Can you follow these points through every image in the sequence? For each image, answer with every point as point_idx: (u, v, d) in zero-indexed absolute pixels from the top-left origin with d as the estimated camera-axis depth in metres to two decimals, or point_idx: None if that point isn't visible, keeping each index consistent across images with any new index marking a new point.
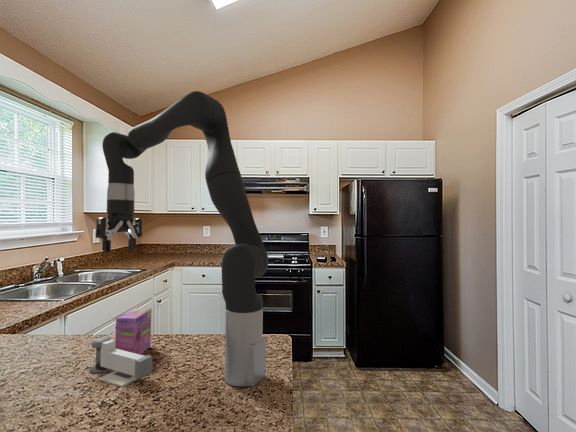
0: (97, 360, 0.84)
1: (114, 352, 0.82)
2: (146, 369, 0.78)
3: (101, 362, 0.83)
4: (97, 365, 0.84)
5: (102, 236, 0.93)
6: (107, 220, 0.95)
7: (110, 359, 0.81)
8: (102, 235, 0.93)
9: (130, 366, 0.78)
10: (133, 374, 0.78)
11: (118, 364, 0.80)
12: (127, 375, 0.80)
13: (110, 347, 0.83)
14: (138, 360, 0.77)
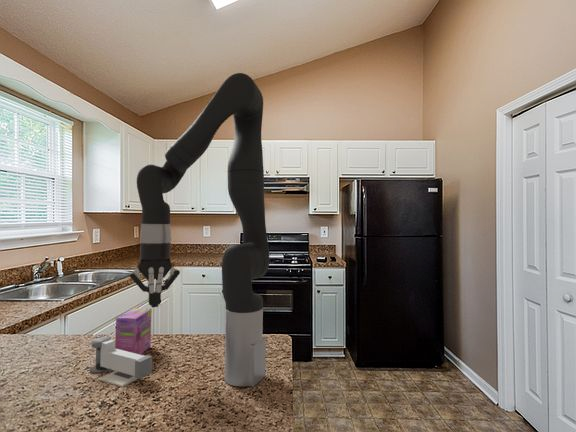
0: (97, 360, 0.84)
1: (114, 352, 0.82)
2: (146, 369, 0.78)
3: (101, 362, 0.83)
4: (97, 365, 0.84)
5: None
6: None
7: (110, 359, 0.81)
8: None
9: (130, 366, 0.78)
10: (133, 374, 0.78)
11: (118, 364, 0.80)
12: (127, 375, 0.80)
13: (110, 347, 0.83)
14: (138, 360, 0.77)
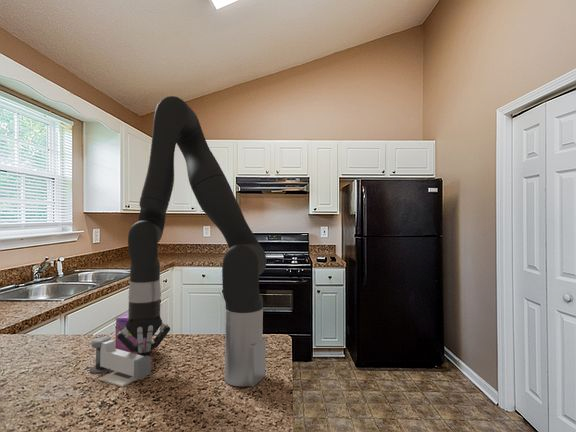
0: (97, 360, 0.84)
1: (114, 352, 0.82)
2: (145, 369, 0.78)
3: (101, 362, 0.83)
4: (97, 365, 0.84)
5: None
6: None
7: (109, 359, 0.81)
8: None
9: (129, 366, 0.78)
10: (132, 374, 0.78)
11: (117, 364, 0.80)
12: (127, 375, 0.80)
13: (110, 347, 0.83)
14: (137, 360, 0.77)
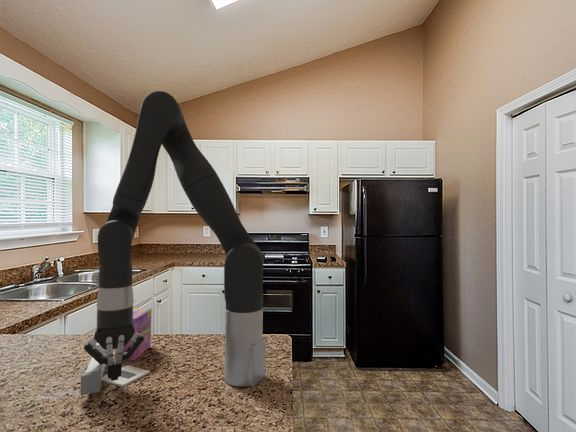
0: None
1: None
2: (91, 386, 0.70)
3: None
4: None
5: None
6: None
7: None
8: None
9: None
10: None
11: None
12: (127, 375, 0.80)
13: (99, 350, 0.82)
14: (84, 373, 0.70)
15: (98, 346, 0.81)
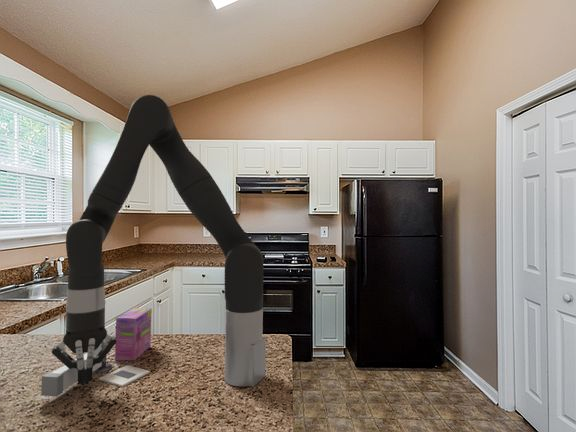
0: None
1: None
2: (49, 388, 0.69)
3: None
4: None
5: None
6: None
7: None
8: None
9: None
10: None
11: None
12: (127, 375, 0.80)
13: None
14: (47, 374, 0.70)
15: None
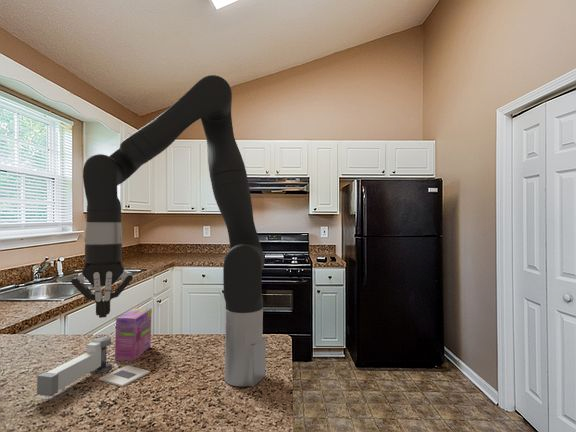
0: None
1: (80, 356, 0.79)
2: (44, 388, 0.69)
3: None
4: None
5: None
6: None
7: None
8: None
9: None
10: None
11: None
12: (127, 375, 0.80)
13: (90, 350, 0.81)
14: (43, 373, 0.70)
15: (90, 346, 0.81)
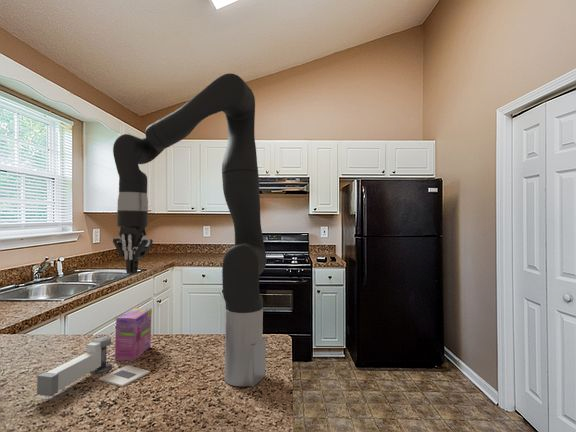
0: None
1: (80, 356, 0.79)
2: (44, 388, 0.69)
3: None
4: None
5: None
6: None
7: None
8: None
9: None
10: None
11: None
12: (127, 375, 0.80)
13: (90, 350, 0.81)
14: (43, 373, 0.70)
15: (90, 346, 0.81)
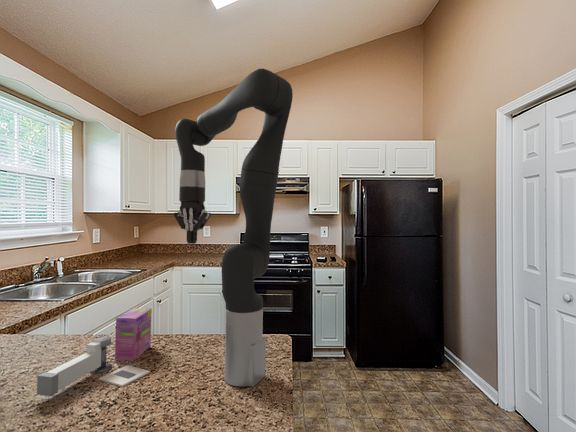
0: None
1: (80, 356, 0.79)
2: (44, 388, 0.69)
3: None
4: None
5: None
6: None
7: None
8: None
9: None
10: None
11: None
12: (127, 375, 0.80)
13: (90, 350, 0.81)
14: (43, 373, 0.70)
15: (90, 346, 0.81)
